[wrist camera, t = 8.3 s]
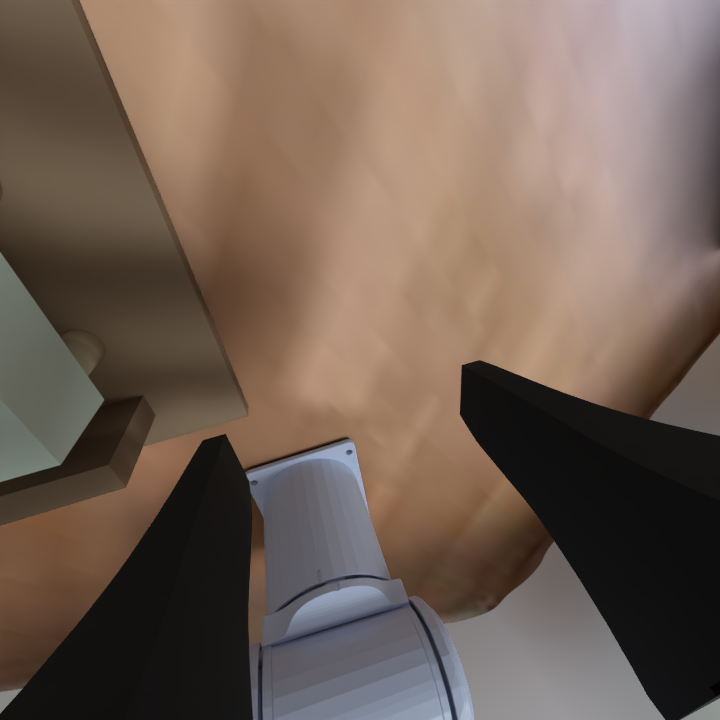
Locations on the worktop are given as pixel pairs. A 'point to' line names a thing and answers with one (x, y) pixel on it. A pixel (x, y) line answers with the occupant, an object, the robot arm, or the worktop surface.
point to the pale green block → (37, 386)
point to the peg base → (98, 258)
